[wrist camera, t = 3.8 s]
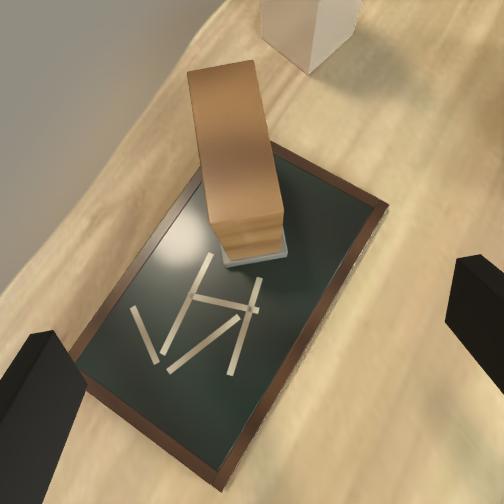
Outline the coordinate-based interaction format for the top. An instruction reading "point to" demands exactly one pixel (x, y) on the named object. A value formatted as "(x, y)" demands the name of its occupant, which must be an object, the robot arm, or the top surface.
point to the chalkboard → (222, 318)
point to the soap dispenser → (308, 28)
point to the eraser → (237, 163)
